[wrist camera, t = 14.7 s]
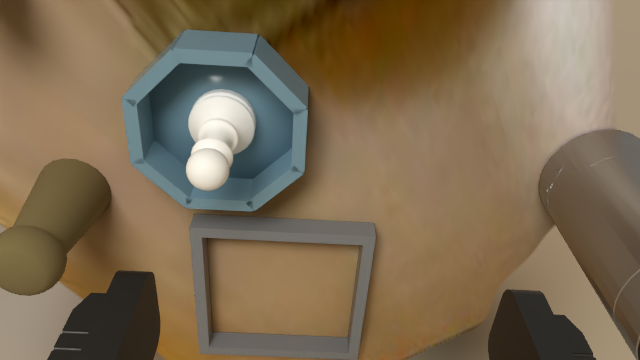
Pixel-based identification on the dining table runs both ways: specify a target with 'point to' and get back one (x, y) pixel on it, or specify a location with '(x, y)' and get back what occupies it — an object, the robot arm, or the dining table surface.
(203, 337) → the grey square frame
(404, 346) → the dining table surface
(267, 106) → the bowl
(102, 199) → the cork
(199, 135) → the chess pawn
